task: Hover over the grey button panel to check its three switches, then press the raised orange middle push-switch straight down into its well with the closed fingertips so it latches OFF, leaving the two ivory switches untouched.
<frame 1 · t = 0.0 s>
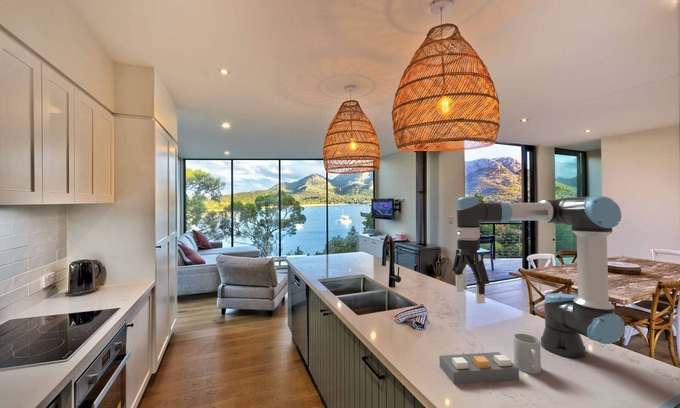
hand: (469, 297, 102), 28 cm above the worktop, fingers open, 13 cm apart
mug: (529, 370, 104), on the worktop
button orange: (481, 363, 100), point 5 cm above the worktop, slide at 0.0 cm
grey button panel: (476, 371, 103), on the worktop
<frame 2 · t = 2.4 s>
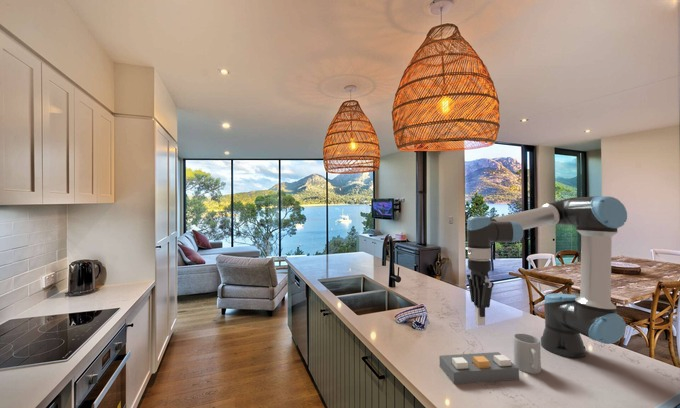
hand: (480, 324, 101), 18 cm above the worktop, fingers closed
nothing on the worktop moved.
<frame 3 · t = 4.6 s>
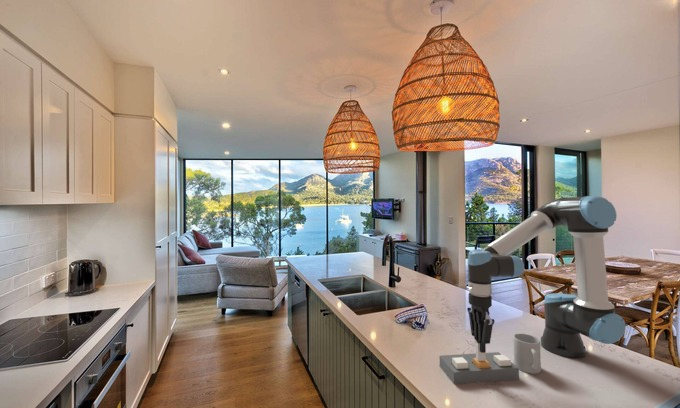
hand: (480, 359, 100), 6 cm above the worktop, fingers closed
button orange: (481, 364, 100), point 4 cm above the worktop, slide at 0.6 cm, touching gripper
everything else where it was.
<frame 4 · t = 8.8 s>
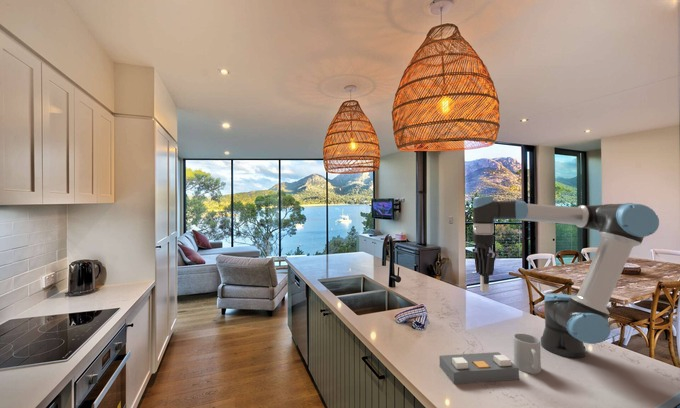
hand: (484, 291, 114), 26 cm above the worktop, fingers closed
button orange: (481, 368, 100), point 3 cm above the worktop, slide at 1.8 cm, touching grey button panel
everything else where it was.
at the end: button orange point 2.8 cm above the worktop; the gripper is holding nothing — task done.
